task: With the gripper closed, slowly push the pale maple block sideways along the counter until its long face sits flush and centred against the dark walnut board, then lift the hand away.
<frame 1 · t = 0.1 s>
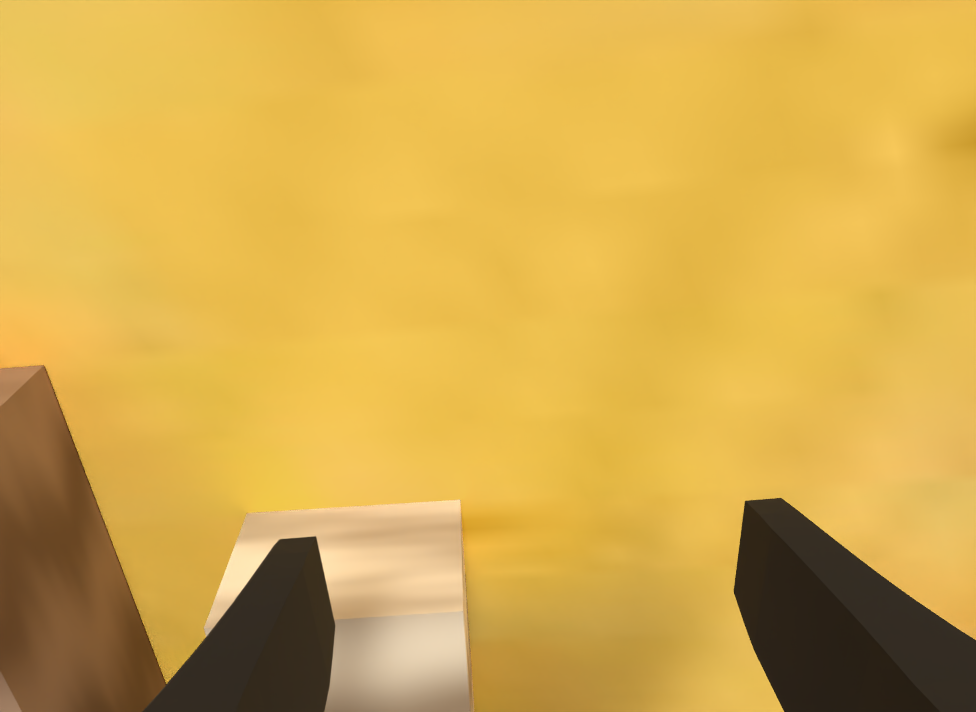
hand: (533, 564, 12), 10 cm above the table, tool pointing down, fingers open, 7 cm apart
maple block: (371, 611, 26), on the table
walnut board: (112, 639, 26), on the table
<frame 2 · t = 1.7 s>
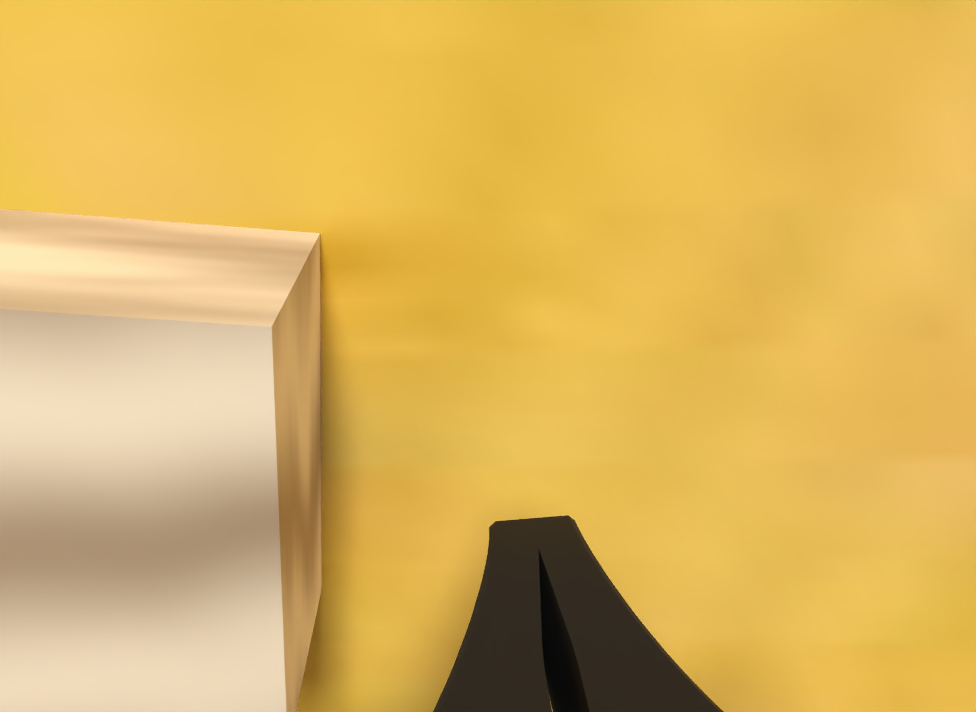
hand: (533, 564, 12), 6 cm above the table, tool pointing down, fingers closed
maple block: (174, 420, 18), on the table
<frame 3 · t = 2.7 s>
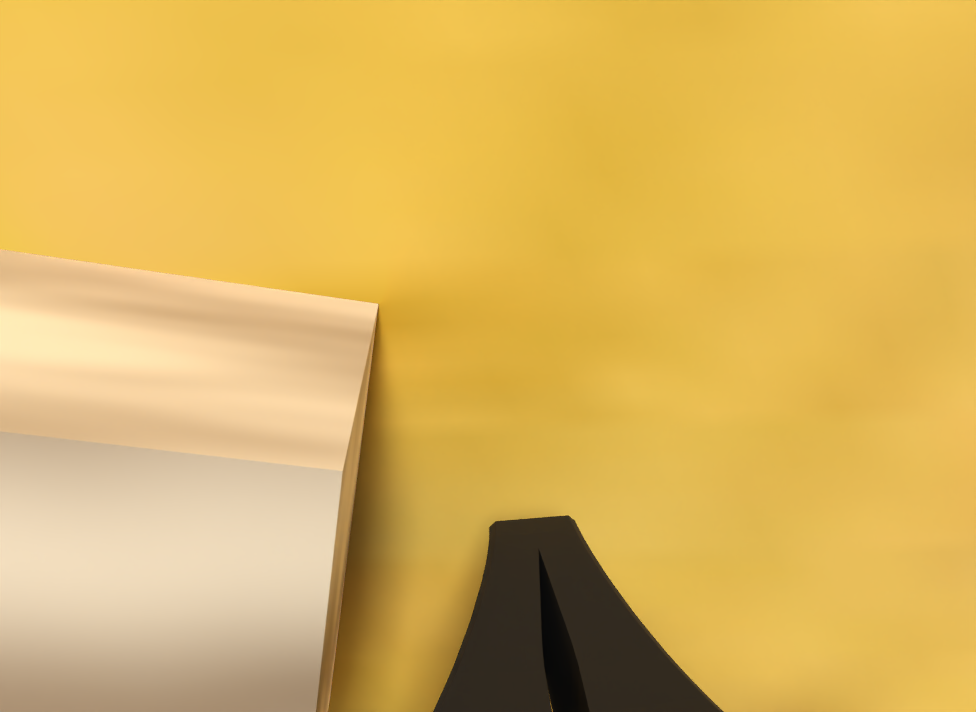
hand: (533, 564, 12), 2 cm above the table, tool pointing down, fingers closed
maple block: (173, 505, 14), on the table
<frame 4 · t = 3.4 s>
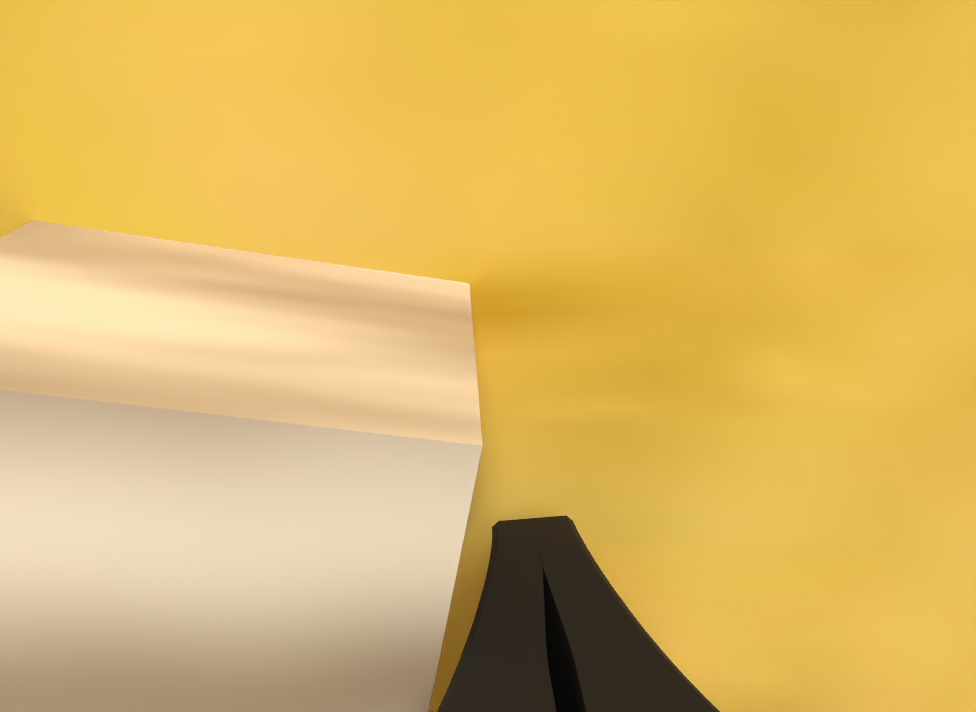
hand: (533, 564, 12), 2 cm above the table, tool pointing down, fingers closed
maple block: (251, 493, 14), on the table, touching gripper
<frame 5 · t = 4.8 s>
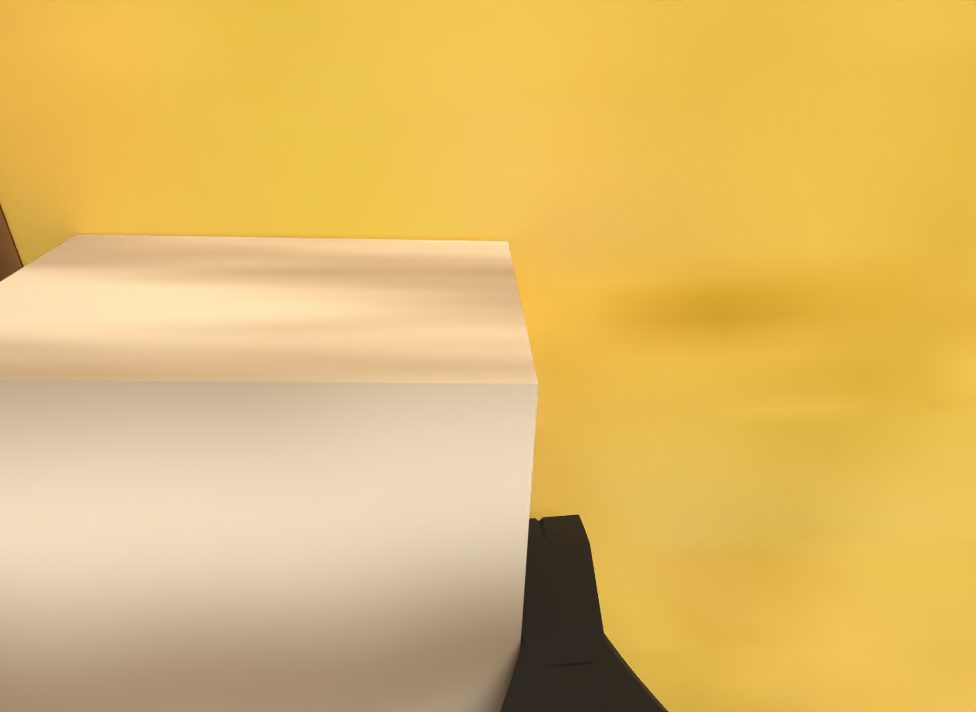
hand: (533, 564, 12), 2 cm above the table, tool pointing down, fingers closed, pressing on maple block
maple block: (317, 486, 14), on the table, touching gripper, walnut board
walnut board: (59, 543, 14), on the table
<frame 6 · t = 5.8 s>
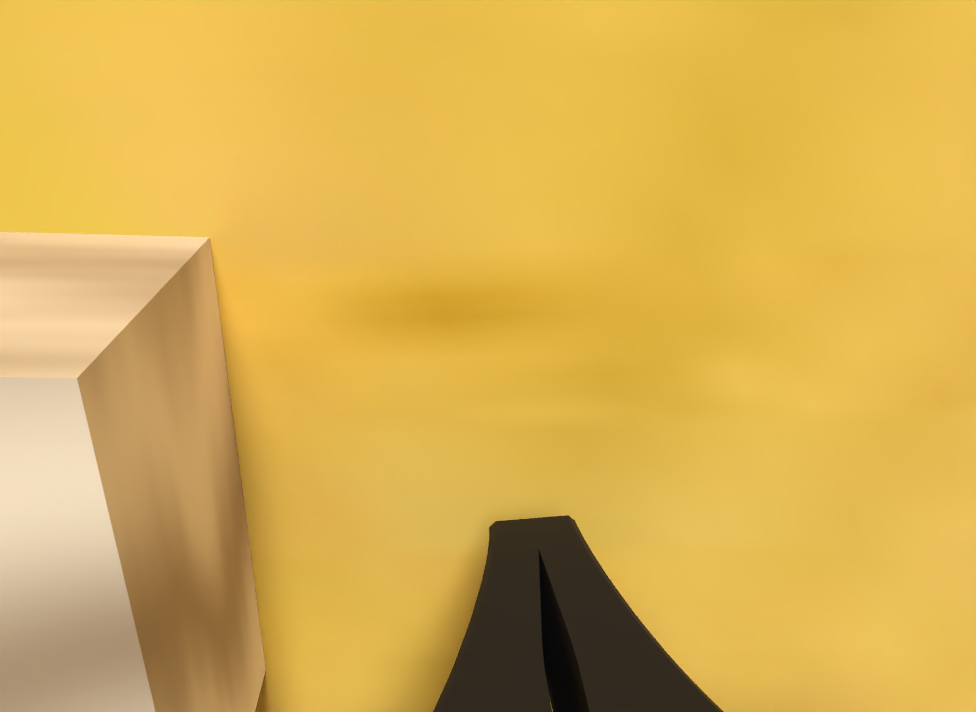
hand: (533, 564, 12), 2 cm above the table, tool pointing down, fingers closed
maple block: (58, 480, 14), on the table
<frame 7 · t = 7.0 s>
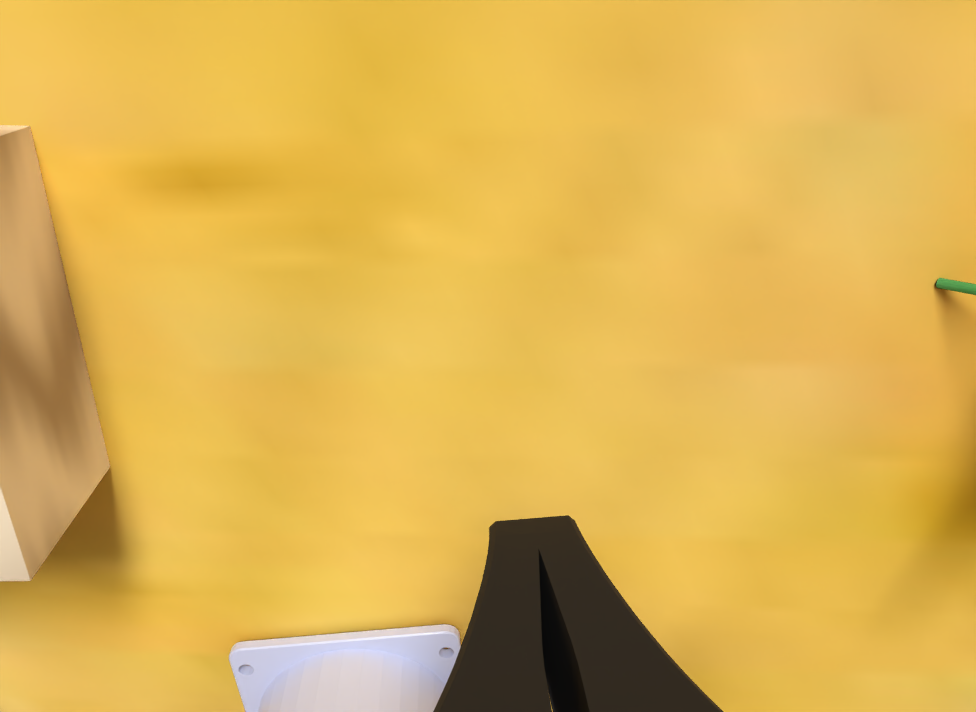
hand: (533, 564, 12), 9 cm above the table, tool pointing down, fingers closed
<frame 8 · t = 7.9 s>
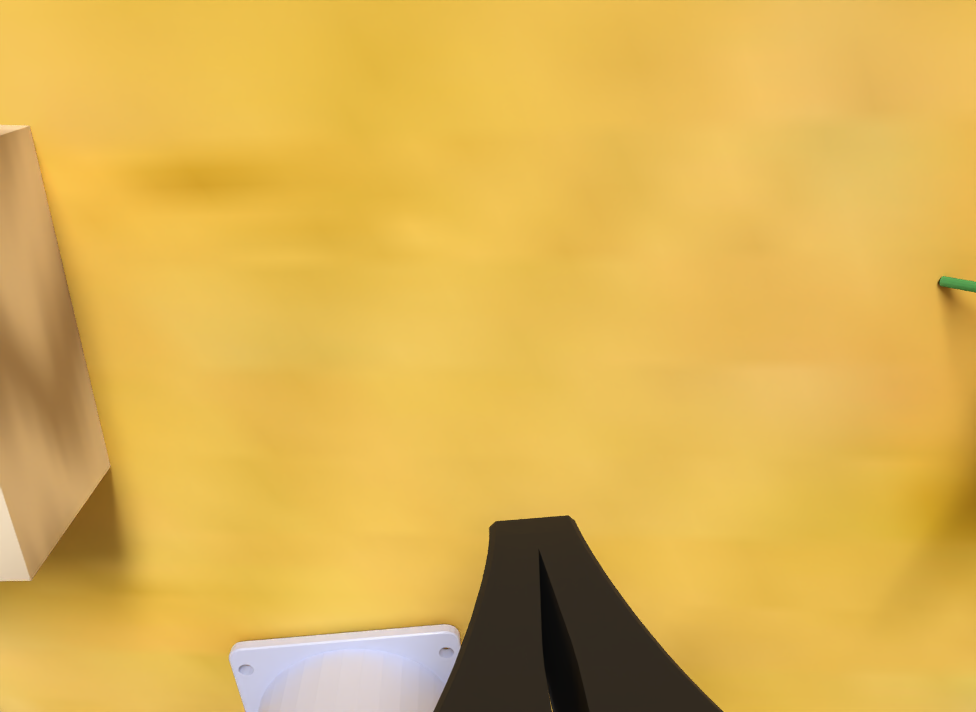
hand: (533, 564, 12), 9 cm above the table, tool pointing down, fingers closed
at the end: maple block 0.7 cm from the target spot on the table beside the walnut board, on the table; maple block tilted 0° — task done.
